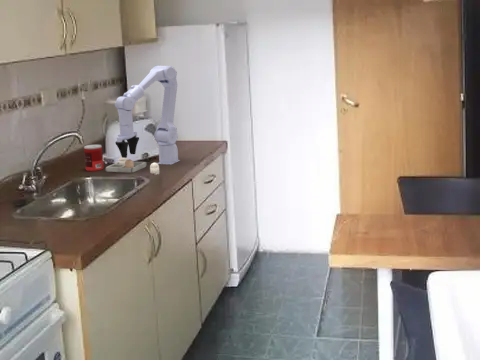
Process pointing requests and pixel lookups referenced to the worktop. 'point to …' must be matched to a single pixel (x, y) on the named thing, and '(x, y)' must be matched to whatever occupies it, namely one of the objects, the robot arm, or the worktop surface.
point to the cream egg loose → (154, 168)
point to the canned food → (93, 157)
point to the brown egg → (129, 164)
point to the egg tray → (121, 168)
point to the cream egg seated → (122, 160)
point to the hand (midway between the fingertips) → (128, 155)
